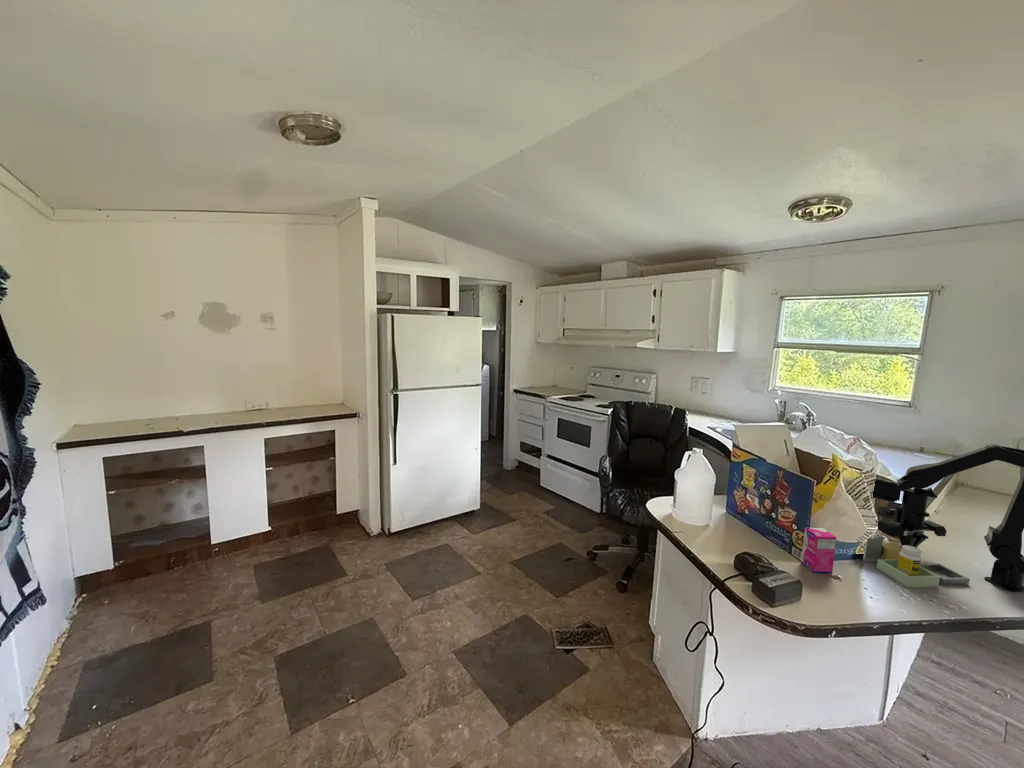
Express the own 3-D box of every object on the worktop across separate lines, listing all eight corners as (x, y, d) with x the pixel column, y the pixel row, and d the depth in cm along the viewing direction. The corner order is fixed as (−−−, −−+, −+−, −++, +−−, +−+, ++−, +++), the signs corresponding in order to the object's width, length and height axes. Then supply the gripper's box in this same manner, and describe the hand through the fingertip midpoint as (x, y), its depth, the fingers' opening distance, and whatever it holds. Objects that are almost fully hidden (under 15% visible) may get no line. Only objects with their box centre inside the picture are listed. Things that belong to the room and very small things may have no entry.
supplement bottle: (912, 581, 121) (917, 553, 120) (892, 572, 125) (896, 545, 124) (921, 578, 123) (926, 550, 122) (901, 569, 127) (905, 543, 126)
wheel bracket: (872, 553, 138) (876, 527, 136) (885, 561, 133) (890, 534, 132) (851, 553, 137) (855, 527, 136) (864, 561, 132) (868, 534, 131)
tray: (905, 568, 129) (906, 559, 129) (938, 586, 120) (940, 576, 120) (876, 568, 128) (877, 559, 128) (907, 587, 119) (909, 577, 119)
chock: (894, 554, 138) (896, 542, 137) (906, 561, 134) (908, 549, 134) (874, 554, 138) (875, 542, 137) (885, 560, 134) (887, 548, 133)
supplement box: (799, 562, 130) (804, 526, 129) (819, 563, 130) (824, 527, 129) (812, 573, 125) (817, 536, 123) (833, 574, 125) (838, 537, 123)
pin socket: (938, 569, 130) (939, 563, 129) (968, 584, 122) (969, 579, 121) (913, 569, 129) (914, 563, 129) (943, 585, 121) (944, 579, 121)
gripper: (914, 496, 143) (907, 541, 145) (863, 496, 141) (856, 541, 143) (951, 510, 132) (943, 558, 134) (896, 511, 130) (888, 559, 132)
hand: (906, 553), depth 136 cm, fingers closed
